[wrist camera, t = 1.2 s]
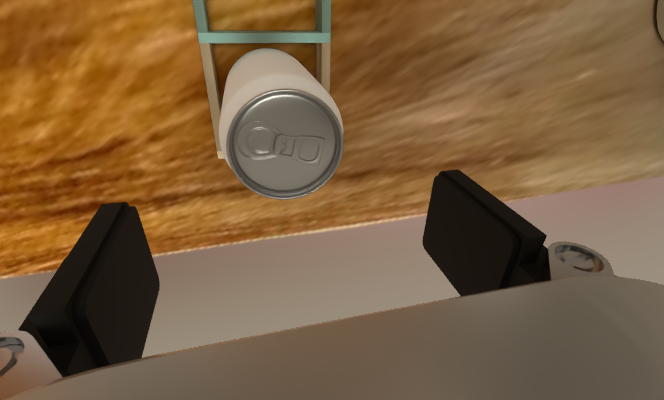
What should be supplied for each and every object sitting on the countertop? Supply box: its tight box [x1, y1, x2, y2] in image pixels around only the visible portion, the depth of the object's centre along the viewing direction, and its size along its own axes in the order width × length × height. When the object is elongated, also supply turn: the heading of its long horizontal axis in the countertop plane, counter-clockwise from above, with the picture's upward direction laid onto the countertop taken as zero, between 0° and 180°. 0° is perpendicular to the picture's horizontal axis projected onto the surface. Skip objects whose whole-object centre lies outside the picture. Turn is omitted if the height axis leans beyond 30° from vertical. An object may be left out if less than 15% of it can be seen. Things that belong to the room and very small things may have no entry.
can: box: [219, 48, 344, 200], centre depth 21 cm, size 6×6×12 cm
